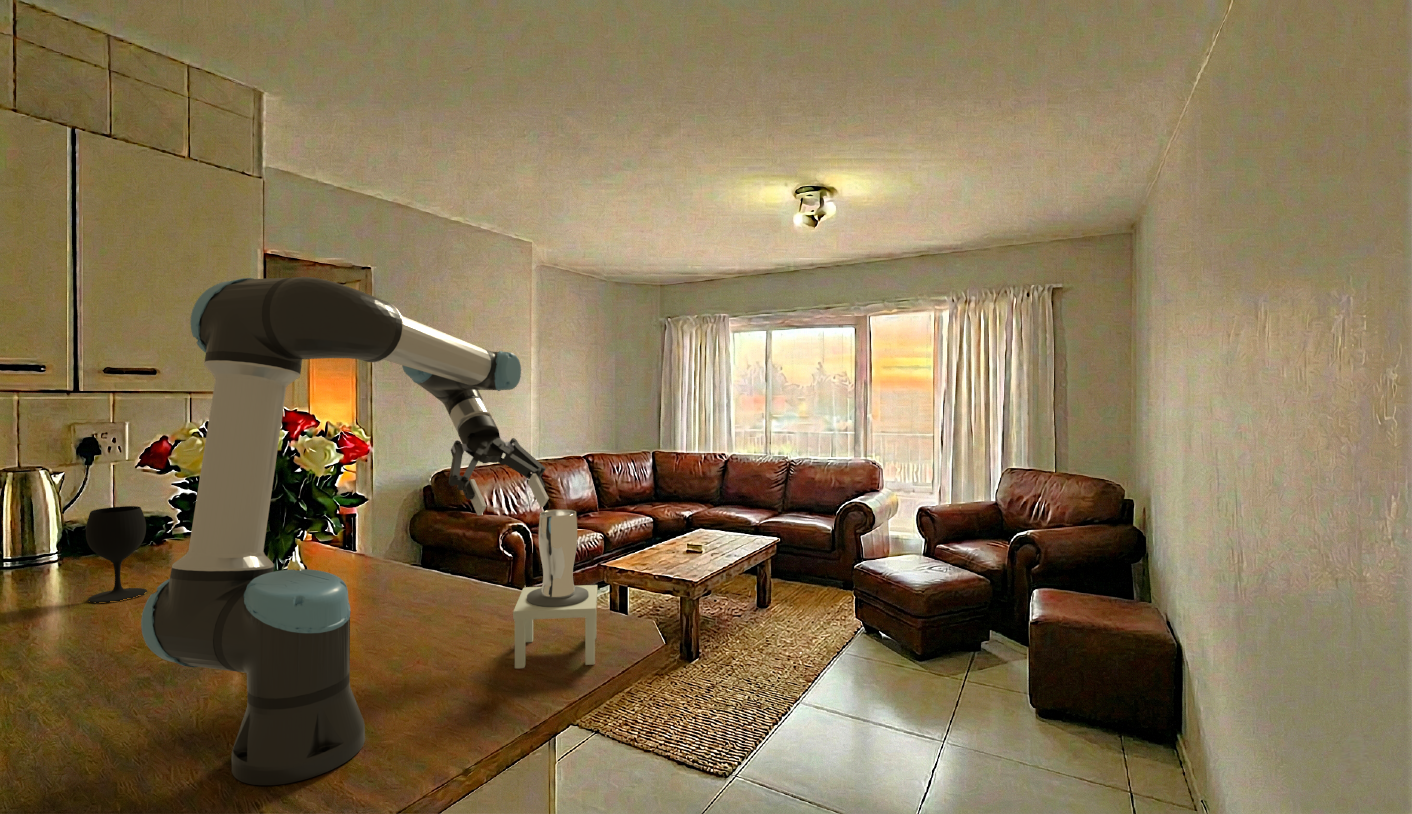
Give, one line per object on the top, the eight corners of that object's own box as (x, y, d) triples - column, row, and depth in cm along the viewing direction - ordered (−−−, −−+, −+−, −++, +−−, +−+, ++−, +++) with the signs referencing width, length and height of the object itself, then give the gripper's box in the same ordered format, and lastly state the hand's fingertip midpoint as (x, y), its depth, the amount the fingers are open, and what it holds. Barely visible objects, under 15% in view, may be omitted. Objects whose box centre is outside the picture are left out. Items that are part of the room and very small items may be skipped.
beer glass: (568, 601, 121) (568, 516, 120) (531, 598, 122) (531, 515, 122) (583, 589, 128) (583, 510, 127) (548, 587, 129) (548, 508, 129)
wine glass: (155, 594, 157) (153, 508, 157) (97, 606, 149) (94, 515, 148) (137, 587, 163) (135, 503, 162) (80, 598, 154) (78, 510, 154)
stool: (513, 668, 117) (513, 608, 117) (523, 638, 131) (523, 584, 131) (595, 664, 119) (595, 604, 119) (597, 635, 133) (597, 581, 133)
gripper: (520, 435, 152) (560, 511, 142) (409, 440, 134) (445, 527, 124) (534, 412, 148) (575, 488, 139) (421, 414, 130) (460, 501, 120)
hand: (514, 506), depth 131 cm, fingers open, 13 cm apart
